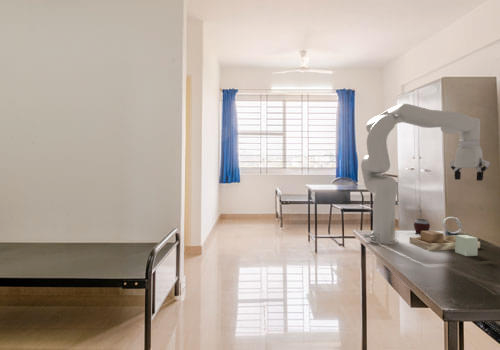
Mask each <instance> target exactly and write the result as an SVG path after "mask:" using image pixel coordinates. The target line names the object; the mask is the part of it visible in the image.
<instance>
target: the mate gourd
mask: <svg viewBox="0 0 500 350" xmlns="http://www.w3.org/2000/svg"><path fill="white" fill-rule="evenodd" d="M417 207H418V209H419V214H420V218H417V219H415V220H414V221H413V227H414V231H415V233H414V234H415V235H421V231H430V228H431V227H430V226H431V225H430V222H429V220H427V219H425V218H424V219H423V216H422V209H421V207H420V205H419V204H418V205H417Z"/></svg>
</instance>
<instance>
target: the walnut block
mask: <svg viewBox="0 0 500 350" xmlns="http://www.w3.org/2000/svg"><path fill="white" fill-rule="evenodd" d="M444 234H445V233H443V232H439V231H436V230H429V231H421V234H420V237H421V241H423V242H426V243H429V244H434V243H443V240H444V236H445V235H444Z"/></svg>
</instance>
